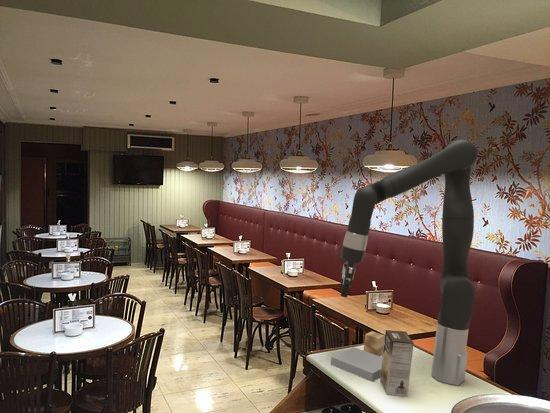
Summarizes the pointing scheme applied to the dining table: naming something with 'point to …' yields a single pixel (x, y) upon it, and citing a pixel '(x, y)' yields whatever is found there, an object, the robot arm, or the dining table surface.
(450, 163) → the robot arm
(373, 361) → the slate base
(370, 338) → the oak block
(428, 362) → the dining table surface
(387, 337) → the coffee box
